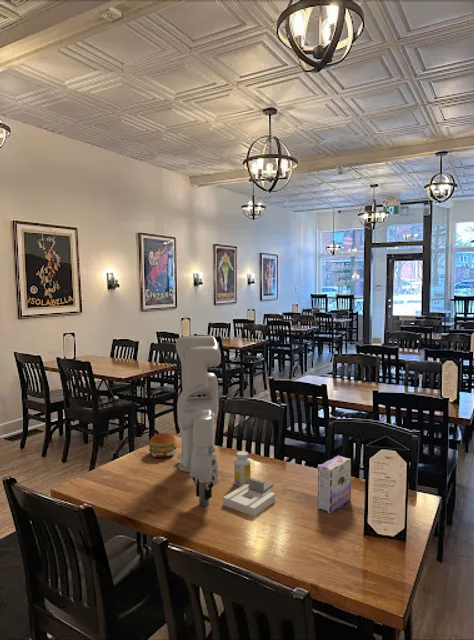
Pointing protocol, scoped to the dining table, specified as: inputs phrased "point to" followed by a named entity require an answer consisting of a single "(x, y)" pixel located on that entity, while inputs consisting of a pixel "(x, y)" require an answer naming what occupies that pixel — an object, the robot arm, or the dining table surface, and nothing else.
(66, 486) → the dining table surface
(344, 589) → the dining table surface
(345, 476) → the candy box
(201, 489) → the plug
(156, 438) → the burger
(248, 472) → the supplement bottle
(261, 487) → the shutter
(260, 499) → the socket
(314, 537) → the dining table surface
